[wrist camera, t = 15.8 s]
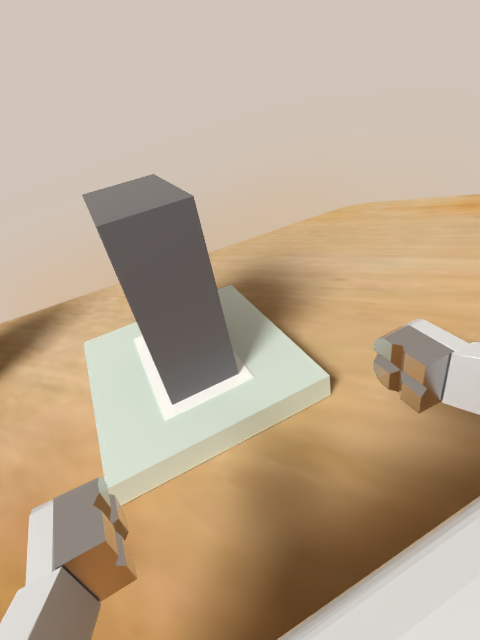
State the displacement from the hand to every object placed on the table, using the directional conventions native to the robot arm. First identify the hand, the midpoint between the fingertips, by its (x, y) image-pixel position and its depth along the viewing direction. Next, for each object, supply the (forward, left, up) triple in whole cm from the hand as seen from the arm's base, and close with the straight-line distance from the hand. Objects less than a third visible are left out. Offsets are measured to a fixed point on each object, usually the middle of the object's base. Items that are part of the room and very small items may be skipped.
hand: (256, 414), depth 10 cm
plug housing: (0, -12, -6) cm, 13 cm away
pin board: (0, -12, -8) cm, 14 cm away
